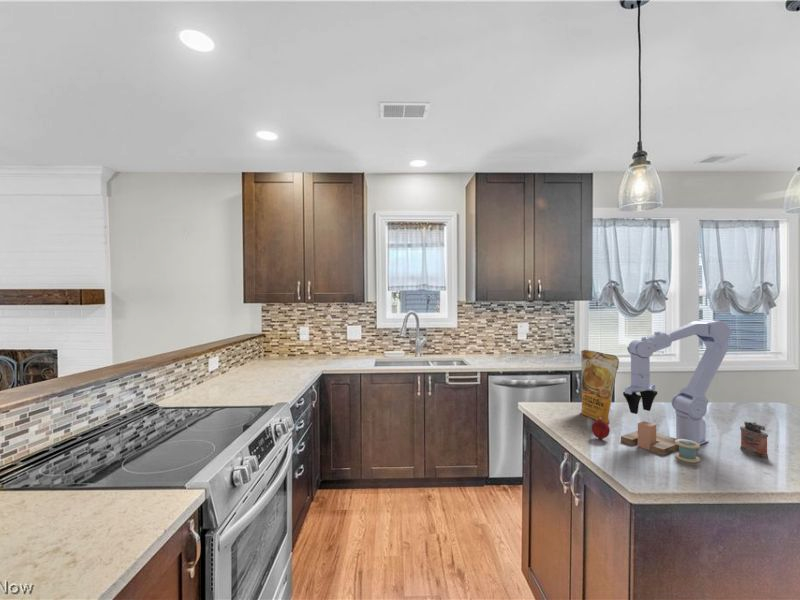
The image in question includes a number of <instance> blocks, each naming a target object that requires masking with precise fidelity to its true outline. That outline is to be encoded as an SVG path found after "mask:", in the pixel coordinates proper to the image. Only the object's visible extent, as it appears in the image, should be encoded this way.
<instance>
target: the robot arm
mask: <svg viewBox="0 0 800 600" xmlns="http://www.w3.org/2000/svg"><path fill="white" fill-rule="evenodd" d="M732 334H733V333H732V329H731V328H730V326H729V324H728V323H727V322H725V321H724V320H710V319H704V318H702V319H697V320H694V321H690V322H689V323H687V324H685V325H682V326H680V327H678V328H676V329H674V330H670V331H668V332H664V331H658V330H657V331H654V334H651V335H649V336H643V337H641V339H634V340H632V341H630V343H629V344H628V346H627V347H626V350H627V352H628V353H629V355H630V385H629V386H627V387H625V388H624V391H623V393H622V395H623V396H624V398H625V400H626V403H627V404H628V405H627V406H628V409H629V412H630V413H631V414H635V415H638V413H639V406H640V401H641V403H642V409H643V410H645V411H648V412H651V410H652V406H653V403H654V400H655V397H656V396H657V395H658V391H657V390H656V384H655V383H651V380H650V379H651V375H650V374H651V373H650V372H651V371H650V368H651V367H650V365H651V363H650V362H651V361H650V358H651V356H653V354H654V353H655V352H658V351H661V350H663V349H667V348H669V347H671V346H672V343H673V342H676V341H679V340H682V339H685V338H688V337H691V336H694V335H695V336H696V337H697V338H698V339H700V341H701V342H703V344H704V345H705V350H704V352H703V354H702V356H701V358H700V361H699V363H698V364H697V365H696V367H695V370H694V372H693V374H692V376H691V377H690V380H689V382H688V384H687V386H686V387H684V388H681V389H679V391H678V393H677V394H676V395H674V396H673V398H672V399H671V406H672V408H673V409H674V410H675V414H676V415H675V422H676V423H675V425H676V426H675V427H676V428H675V429H676V430H675V431H676V432H675V434H676V435H675V436H672V437H673V438H676V439H686V440H691V441H694V442H697V443H699V444H700V446H701V445H704V444H706V443H707V442H710V440H709V439H707V434H706V433H707V431H706V428H707V425H706V424H707V423H706V420H705V419H704V417H705V416H706V415H707V410H708V408H707V407H708V404H709V399H708V397H707V395H706V394H707V392H708V389H709V388H710V386H711V383H712V382H713V380H714V378H715V375H716V374H717V371H718V370H719V367H720V366H721V364H722V362H723V360H724V358H725V356H726V355H727V352H728V350H729V339H730V337H731V335H732ZM637 393H640V395H639V394H637Z"/></svg>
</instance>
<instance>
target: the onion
mask: <svg viewBox="0 0 800 600" xmlns="http://www.w3.org/2000/svg"><path fill="white" fill-rule="evenodd" d="M610 431H611V429H610V426H609V423H606V422H605V421H603V420H602V418H601V417H599V419H598V420H597V421H596V420H594V422H593V423H592V425H591V432H592V434H593V435H594V436H595V437H596V438H597V439H598V440H604V439H605V438H607V437H608V436H609V434H610Z"/></svg>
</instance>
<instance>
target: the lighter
mask: <svg viewBox="0 0 800 600" xmlns="http://www.w3.org/2000/svg"><path fill="white" fill-rule="evenodd" d="M743 422H744V425H742V426H740V428H739V430H740V446H739V448H740V450H741V451H743V452H745V453H747V454H749V455H752V456H754V455H755V457H757V456H758V458H760V457H761V458H760V459H768V458H769V455H768V437H769V433H766V432H764V431H766V427H765V426H764V425H761V424H759V423H757V422H755V421H753V422H752V421H748V420H746V421H743Z"/></svg>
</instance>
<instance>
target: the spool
mask: <svg viewBox="0 0 800 600" xmlns="http://www.w3.org/2000/svg"><path fill="white" fill-rule="evenodd" d="M675 444H677V445H679V450H678V452H676V453H674V457H675V458H676V459H677V460H679V461H682V462H685V463H690V464H691V463H692V464H697V463H700V462H701V458H700V457H699V456H697V449H700V448H701V445H700V444H699V443H697V442H694V441H691V440H686V439H677V440H675Z"/></svg>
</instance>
